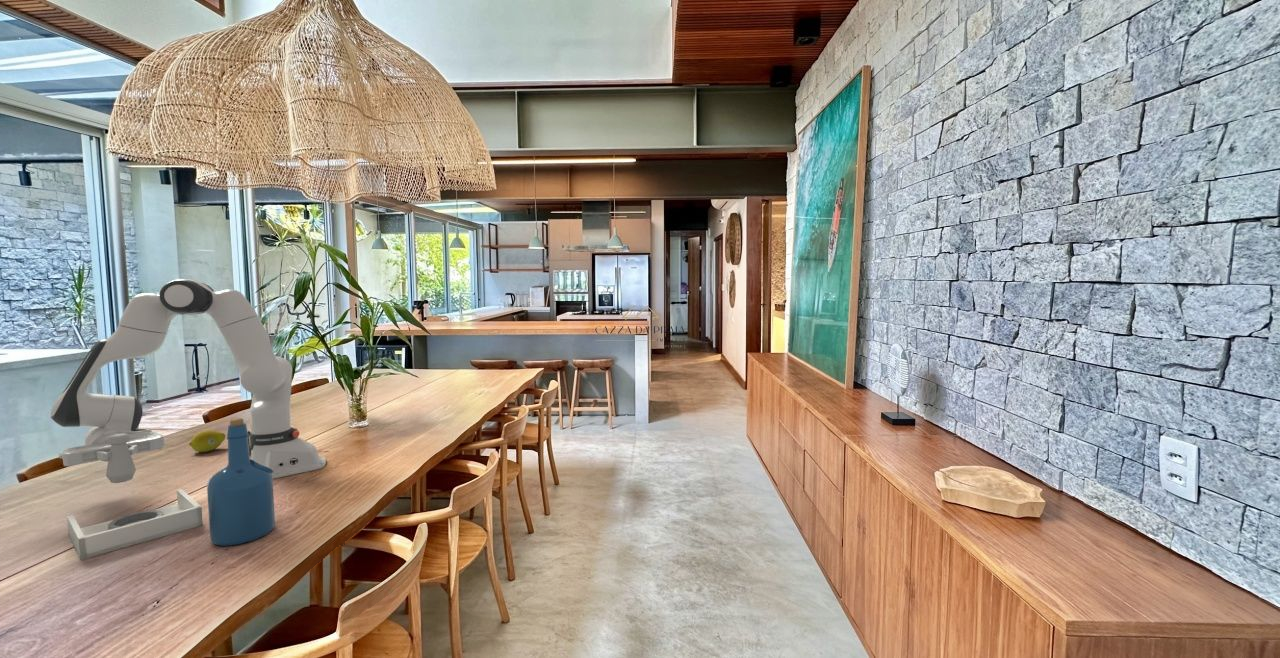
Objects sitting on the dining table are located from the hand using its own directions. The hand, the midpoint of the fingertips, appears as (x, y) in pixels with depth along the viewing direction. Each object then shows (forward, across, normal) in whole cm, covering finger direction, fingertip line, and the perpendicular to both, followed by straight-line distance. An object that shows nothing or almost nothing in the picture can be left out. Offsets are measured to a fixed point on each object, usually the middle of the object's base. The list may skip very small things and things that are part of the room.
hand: (120, 454), depth 141 cm
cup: (-35, +39, +17) cm, 55 cm away
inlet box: (+16, 0, +17) cm, 23 cm away
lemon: (-51, +30, +17) cm, 62 cm away
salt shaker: (-1, 0, +8) cm, 8 cm away
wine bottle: (+42, +16, +17) cm, 48 cm away
